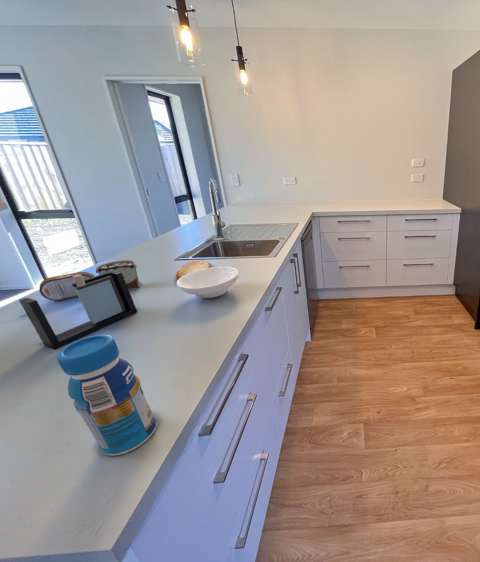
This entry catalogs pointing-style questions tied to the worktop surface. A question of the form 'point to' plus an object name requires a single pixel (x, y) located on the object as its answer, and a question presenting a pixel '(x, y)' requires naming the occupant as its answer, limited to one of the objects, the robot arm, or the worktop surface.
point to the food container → (122, 266)
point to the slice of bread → (191, 268)
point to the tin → (61, 286)
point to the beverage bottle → (107, 394)
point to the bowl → (208, 281)
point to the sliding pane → (99, 298)
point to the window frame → (82, 330)
